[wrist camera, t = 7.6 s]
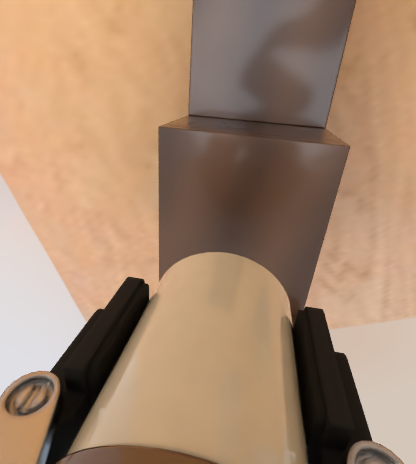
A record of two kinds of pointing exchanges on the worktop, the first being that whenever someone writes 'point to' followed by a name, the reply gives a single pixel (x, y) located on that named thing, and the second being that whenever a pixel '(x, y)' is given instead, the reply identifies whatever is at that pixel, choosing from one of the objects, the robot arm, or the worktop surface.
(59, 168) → the worktop surface
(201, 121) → the step rack
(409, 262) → the worktop surface
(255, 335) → the spice jar
